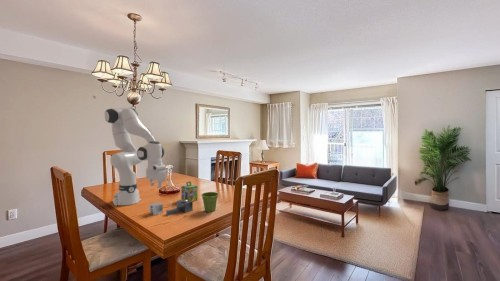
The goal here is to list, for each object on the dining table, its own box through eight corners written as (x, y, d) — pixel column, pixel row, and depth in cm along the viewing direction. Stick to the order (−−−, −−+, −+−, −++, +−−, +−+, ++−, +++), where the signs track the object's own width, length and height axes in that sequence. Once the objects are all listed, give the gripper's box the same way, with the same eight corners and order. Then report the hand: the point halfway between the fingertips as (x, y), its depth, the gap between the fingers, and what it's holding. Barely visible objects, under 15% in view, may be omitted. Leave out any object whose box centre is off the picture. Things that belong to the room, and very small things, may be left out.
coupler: (163, 213, 155) (163, 203, 155) (184, 207, 167) (184, 197, 167) (171, 216, 148) (171, 206, 148) (192, 210, 160) (192, 200, 160)
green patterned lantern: (189, 203, 177) (189, 183, 176) (180, 201, 182) (180, 182, 181) (198, 200, 185) (197, 181, 184) (189, 198, 190) (189, 180, 189)
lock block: (149, 213, 155) (149, 204, 154) (158, 210, 159) (158, 202, 159) (153, 215, 151) (153, 206, 151) (162, 212, 156) (162, 204, 155)
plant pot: (197, 210, 161) (197, 194, 160) (212, 206, 169) (212, 191, 168) (207, 214, 152) (207, 197, 152) (222, 210, 160) (222, 194, 160)
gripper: (143, 165, 158) (143, 185, 159) (158, 167, 145) (158, 189, 145) (152, 164, 163) (152, 183, 164) (167, 166, 150) (167, 188, 150)
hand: (155, 186), depth 154 cm, fingers open, 8 cm apart
